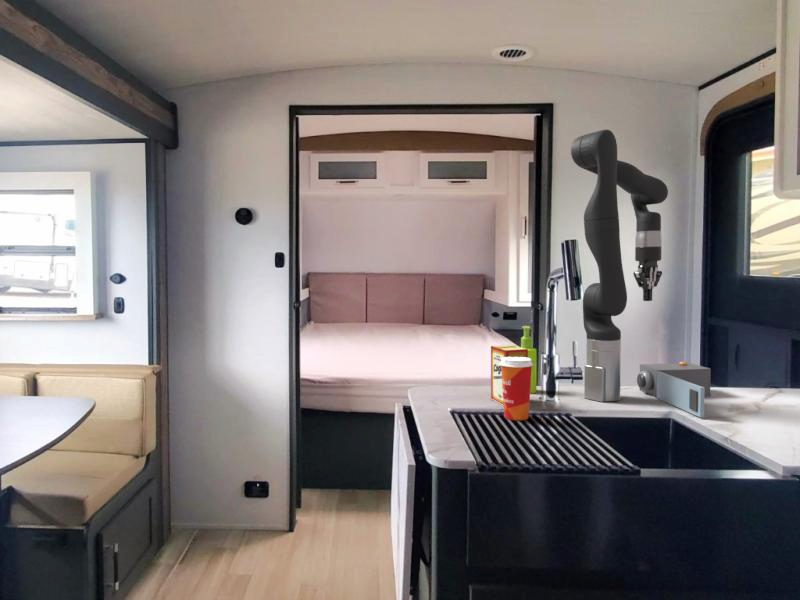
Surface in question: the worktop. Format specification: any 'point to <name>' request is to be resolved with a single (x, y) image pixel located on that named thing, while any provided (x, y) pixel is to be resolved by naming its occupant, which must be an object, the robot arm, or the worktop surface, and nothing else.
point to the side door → (680, 393)
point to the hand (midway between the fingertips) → (647, 300)
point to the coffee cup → (516, 387)
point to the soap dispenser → (530, 356)
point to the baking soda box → (496, 373)
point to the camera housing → (674, 375)
